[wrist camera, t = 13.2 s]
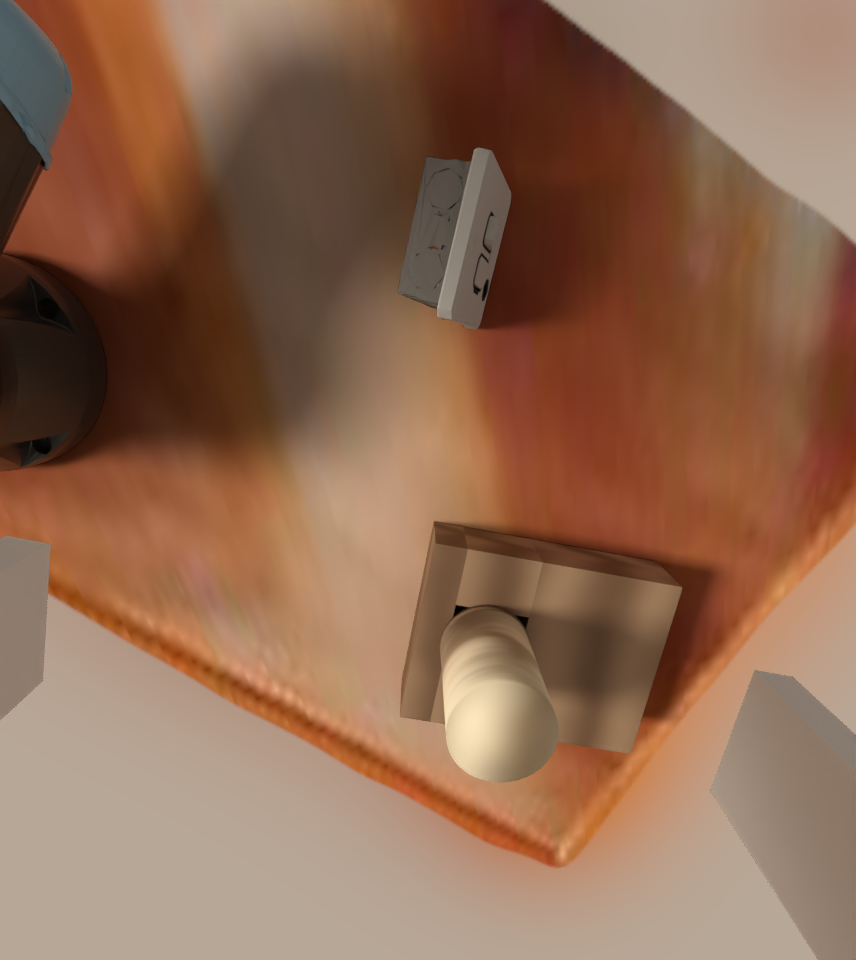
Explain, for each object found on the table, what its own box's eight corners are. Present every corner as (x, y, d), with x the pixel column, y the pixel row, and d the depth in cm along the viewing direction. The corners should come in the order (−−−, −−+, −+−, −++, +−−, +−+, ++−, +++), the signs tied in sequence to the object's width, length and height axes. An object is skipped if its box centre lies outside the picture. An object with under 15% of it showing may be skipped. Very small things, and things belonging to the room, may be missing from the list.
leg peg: (430, 646, 49) (435, 774, 35) (446, 572, 47) (457, 674, 33) (508, 659, 49) (544, 790, 35) (526, 586, 48) (572, 693, 33)
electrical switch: (478, 331, 43) (478, 327, 34) (409, 314, 44) (390, 305, 34) (512, 195, 41) (522, 152, 32) (440, 178, 41) (429, 129, 32)
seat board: (401, 679, 50) (399, 716, 45) (434, 521, 47) (435, 543, 42) (610, 713, 51) (630, 753, 46) (656, 561, 48) (682, 587, 43)
